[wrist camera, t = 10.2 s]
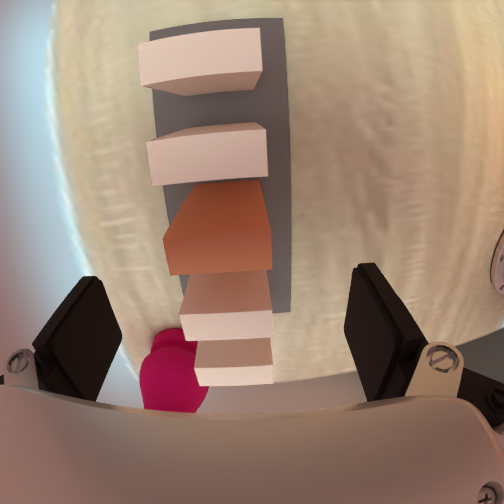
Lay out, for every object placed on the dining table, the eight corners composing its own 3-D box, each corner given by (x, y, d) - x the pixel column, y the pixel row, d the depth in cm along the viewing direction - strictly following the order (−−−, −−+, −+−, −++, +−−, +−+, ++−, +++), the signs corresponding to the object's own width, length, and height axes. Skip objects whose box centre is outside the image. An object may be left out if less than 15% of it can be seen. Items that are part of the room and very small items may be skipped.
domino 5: (207, 282, 26) (193, 367, 17) (263, 279, 26) (273, 365, 17) (210, 300, 27) (199, 386, 18) (264, 297, 27) (273, 383, 18)
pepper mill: (223, 359, 32) (217, 530, 14) (172, 373, 33) (147, 524, 15) (191, 316, 29) (159, 515, 11) (137, 334, 30) (86, 501, 12)
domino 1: (183, 71, 18) (138, 43, 9) (251, 65, 18) (259, 27, 9) (185, 96, 19) (140, 85, 10) (253, 90, 19) (262, 71, 10)
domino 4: (200, 237, 24) (178, 314, 15) (261, 233, 24) (272, 310, 15) (203, 258, 25) (186, 340, 16) (262, 254, 25) (272, 336, 16)
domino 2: (187, 128, 20) (146, 142, 11) (255, 122, 20) (265, 129, 11) (190, 153, 21) (152, 186, 12) (256, 148, 21) (268, 176, 12)
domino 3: (194, 184, 22) (162, 238, 13) (259, 179, 22) (271, 230, 13) (197, 208, 23) (170, 275, 14) (260, 204, 23) (272, 269, 14)
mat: (281, 20, 17) (282, 18, 16) (289, 308, 28) (290, 311, 28) (151, 33, 16) (149, 31, 16) (189, 313, 28) (188, 317, 28)
